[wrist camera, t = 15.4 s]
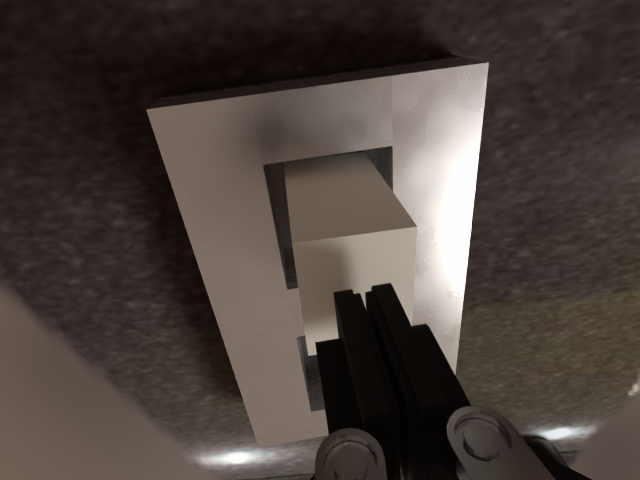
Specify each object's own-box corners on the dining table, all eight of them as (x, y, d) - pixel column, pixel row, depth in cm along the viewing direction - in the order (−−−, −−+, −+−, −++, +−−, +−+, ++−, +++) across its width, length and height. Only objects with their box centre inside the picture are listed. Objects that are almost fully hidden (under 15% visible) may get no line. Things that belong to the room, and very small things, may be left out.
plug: (283, 161, 17) (292, 243, 11) (364, 151, 17) (417, 226, 11) (295, 248, 19) (308, 355, 13) (366, 238, 19) (411, 340, 13)
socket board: (166, 93, 16) (146, 109, 13) (453, 54, 16) (488, 62, 14) (259, 404, 26) (259, 447, 23) (433, 374, 26) (451, 413, 24)
